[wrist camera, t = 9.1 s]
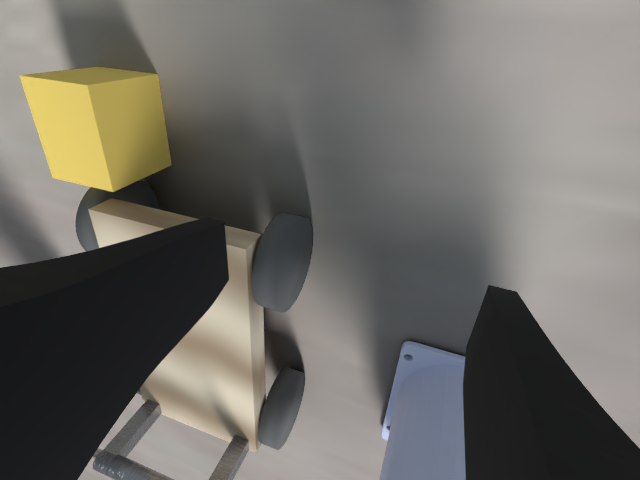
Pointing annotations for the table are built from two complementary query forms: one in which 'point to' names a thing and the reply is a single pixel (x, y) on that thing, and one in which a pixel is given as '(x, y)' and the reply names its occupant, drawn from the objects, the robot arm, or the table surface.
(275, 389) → the dolly
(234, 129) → the table surface
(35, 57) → the table surface
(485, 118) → the table surface
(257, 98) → the table surface
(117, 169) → the block
